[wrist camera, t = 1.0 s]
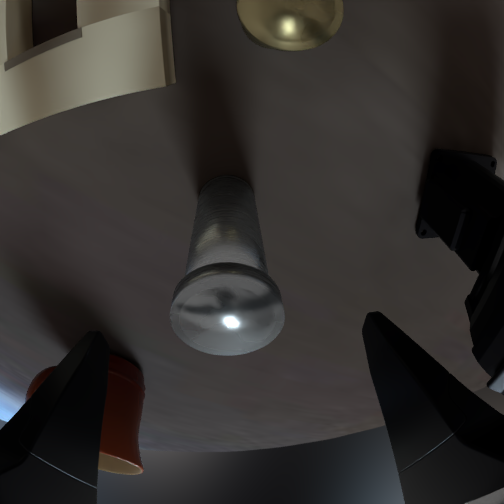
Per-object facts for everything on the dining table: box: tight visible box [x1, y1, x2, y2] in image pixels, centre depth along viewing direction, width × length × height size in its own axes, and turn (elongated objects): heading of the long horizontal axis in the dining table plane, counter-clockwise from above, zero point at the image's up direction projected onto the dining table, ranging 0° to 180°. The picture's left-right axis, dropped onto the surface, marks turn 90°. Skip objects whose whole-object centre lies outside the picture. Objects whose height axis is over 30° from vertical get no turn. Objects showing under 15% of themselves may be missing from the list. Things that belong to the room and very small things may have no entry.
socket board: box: [0, 0, 176, 135], centre depth 8 cm, size 12×12×3 cm
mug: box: [25, 353, 145, 475], centre depth 21 cm, size 12×9×10 cm
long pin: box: [170, 175, 285, 355], centre depth 13 cm, size 4×4×9 cm
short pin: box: [237, 0, 343, 51], centre depth 10 cm, size 4×4×5 cm
